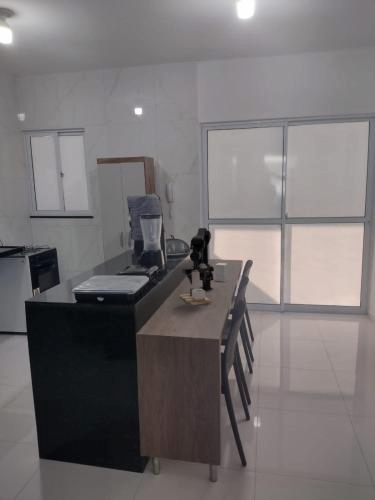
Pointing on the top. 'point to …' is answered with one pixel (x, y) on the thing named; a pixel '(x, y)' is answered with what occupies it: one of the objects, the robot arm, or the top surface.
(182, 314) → the top surface
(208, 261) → the robot arm
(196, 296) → the sleeve
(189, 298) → the pin board
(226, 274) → the supplement box
